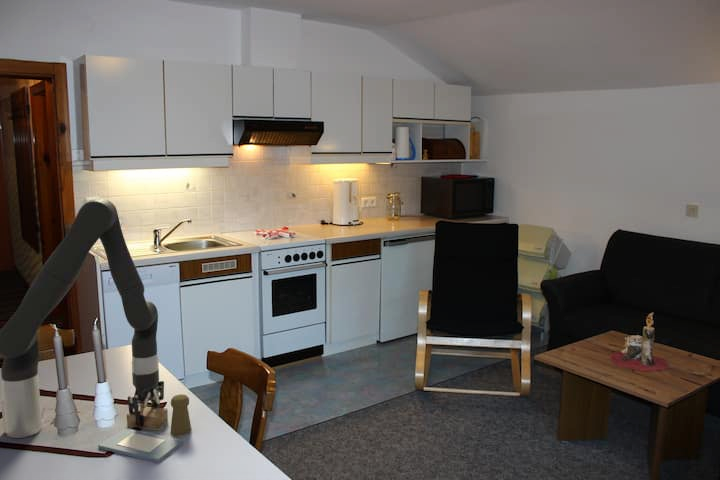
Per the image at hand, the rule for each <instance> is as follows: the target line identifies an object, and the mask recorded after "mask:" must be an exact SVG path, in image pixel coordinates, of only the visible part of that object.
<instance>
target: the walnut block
mask: <svg viewBox="0 0 720 480" xmlns="http://www.w3.org/2000/svg"><path fill="white" fill-rule="evenodd" d="M140 408H141V407H139V411H140ZM133 411H134V409H133ZM168 413H169V412H168V408H165V407H159V408H155V407H151V406H146V407H145V408H144V411H143V417H144V426H142V427H140V426H137V425H136V420H135V415H130V414H129V412H128V413H126V427H127V426H130V427H129V428H134V427H139V428H138V429H143V430H144V429H145V430H154V431H155V430H156V431H159V430H160V429H161V428H162V427H164V426H165V425H166V424H167V422H169V417H168V415H169V414H168Z"/></svg>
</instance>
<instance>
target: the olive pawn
mask: <svg viewBox="0 0 720 480" xmlns="http://www.w3.org/2000/svg"><path fill="white" fill-rule="evenodd" d="M189 404H190V398H189V396H188V395H186V394H180V393H179V394H175V395H174V396H173V397H172V398H171V399H170V406H171V407H172V415H171V424H170V426H171V427H170V434H171V435H172V436H174V437H183V436H187V435H189V434H191V432H192V425H191V419H190V418H191V417H190V413H189V408H188V407H189Z"/></svg>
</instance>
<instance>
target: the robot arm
mask: <svg viewBox="0 0 720 480" xmlns="http://www.w3.org/2000/svg"><path fill="white" fill-rule="evenodd" d="M98 240H100V242H101V244H102V247H103V248H104V249H103V250H104V251H105V256H106V260H107V264H108V268H109V273H110V276H111V278H112V280H113V281H112V282H113V283H114V284H115V286H116V289H117V291H118V294H119V296H120V299H121V303H122V309H123V312H124V315H125V318H126V321H127V323H128V324H129V326H130V327H132V329H134V332H133V336H132V339H131V375H132V376H131V377H132V386H134V388H135V391H134V394H133V395H131V396H130V395H128V396H127V404H128V405H127V406H128V413H129V414H130V415H135V420H136V425H137V426H140V427H142V426H144V417H143V411H144V408H145V407H148V406H147V405H148V402H150V403H151V405H150V407H155V408H160V404H161V401H163V400H164V399H165V381H164V380H160V371H159V370H160V368H159V367H160V366H159V356H158V342H157V332H158V322H159V313H158V308H157V306H156V304H155V303H153V302H152V301H150V300H149V301H148V300H146V298H145V285H144V284H143V280H142V277H140V276H141V275H140V273H139V272H138V270H137V269H138V268H137V267H136V265H135V262H134V261H133V258H132V256H131V253H130V250H129V248H128V245H127V242H126V241H125V240H126V239H125V237H124V234H123V230H122V225H121V222H120V218H119V214H118V210H117V208H116V205H115V204H114V203H113V202H111V201H110V200H109V199H105V198H95V199H92V200H89V201H87V202H85V203H84V204H82V206H81V207H80V208H79V210H78V212H77V214H76V216H75V218H74V221H73V223H72V224H71V226H70V228H69V230H68V232H67V233H66V235H65V237H64V238H63V240H62V241H61V242H60V243H59V244H58V246H57V247H56V248H55V250H54V251H53V252H52V253H51V255H50V256H49V257H48V258H47V260H46V261H45V263H44V265H42V267H41V268H40V270H39V272H38V273H37V274H36V276H35V277H34V280H33V281H32V283H31V284H30V286H29V288H28V290H27V291H26V294H25V296H23V297H24V298H23V299H22V301H21V303H20V305H19V306H18V308H17V310H15V312H14V314H12V316H11V317H10V318H9V319H8V321H7V322H6V323H5V324H4V326H2V328H1V329H0V356H1V357H3V363H2V366H1V369H0V374H1V375H0V376H1V384H2V385H1V387H2V395H3V396H2V398H3V400H2V401H1V404H0V405H1V415H2V426H3V433H5V434H6V436H7V437H9V438H12V439H21V438H22V439H23V438H27V437H31V436H33V435H36V434H37V433H40V431H42V430H43V429H42V428H43V423H42V421H43V420H42V410H41V396H40V385H39V384H40V383H39V382H40V381H39V369H38V368H39V362H40V345H39V344H40V343H39V332H38V330H39V328H40V327H41V325H42V324H43V322H44V320H45V319H46V318H47V317H48V316H49V314H51V312H53V310H54V309H55V308H56V307H57V306H58V304H60V302H61V301H62V300H63V299H64V297H65V296H66V295H67V293H68V292H69V291H70V289H71V288H72V286H74V283H75V282H76V280H77V278H78V276H79V275H80V273H81V270H82V269H83V266H84V265H85V261H86V259H87V257H88V254H89V252H90V251H91V250H92V248H93V246H94V245H96V243H97V242H98ZM139 407H141V408H140V411H139ZM133 409H134V411H133Z"/></svg>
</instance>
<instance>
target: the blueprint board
mask: <svg viewBox="0 0 720 480" xmlns="http://www.w3.org/2000/svg"><path fill="white" fill-rule="evenodd" d="M183 444H184V440H182V439H179V438H174V437H169V436H164V435H160V434H155V433H150V432H146V431H141V430H136V429H133V428H130V427H124V428H123V429H121V430H120V431H118V432H117V433H115V434H114V435H112V436H110V437H109V438H108V439H105V440H104V441H103V442H101V443H100V444H97V445H98V449H99V448H100V449H99V450H103V449H104V451H107V450H109V451H108V452H111V451H112V452H111V453H116V454H120V455H125V456H129V457H131V458H132V457H133V458H137V459H141V460H146V461H151V462H153V463H157V464H159V463H160V462H162V461H164V459H165V458H167V457H168V456H170V455H171V454H172V453H173V452H175V450H177V449H178V448H180V447H181V446H182V445H183Z"/></svg>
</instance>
